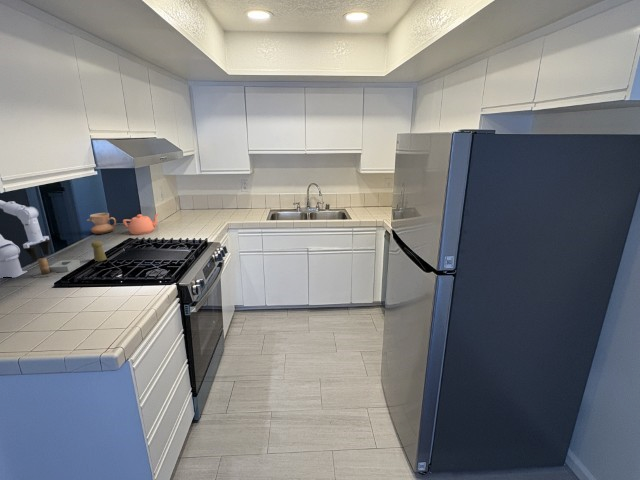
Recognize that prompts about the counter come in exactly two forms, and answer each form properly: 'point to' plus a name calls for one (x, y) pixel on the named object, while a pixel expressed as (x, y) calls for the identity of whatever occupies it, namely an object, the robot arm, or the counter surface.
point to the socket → (64, 266)
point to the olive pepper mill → (98, 251)
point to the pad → (44, 275)
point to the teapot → (141, 224)
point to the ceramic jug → (101, 223)
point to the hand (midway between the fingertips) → (41, 257)
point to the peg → (43, 266)
